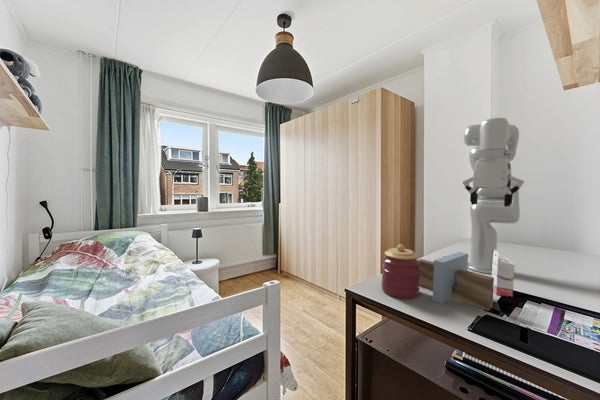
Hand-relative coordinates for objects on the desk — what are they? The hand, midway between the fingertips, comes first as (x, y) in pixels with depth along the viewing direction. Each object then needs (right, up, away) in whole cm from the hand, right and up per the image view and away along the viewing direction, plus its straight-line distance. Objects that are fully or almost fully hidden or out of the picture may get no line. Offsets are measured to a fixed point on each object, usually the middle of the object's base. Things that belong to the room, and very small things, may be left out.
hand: (489, 205), depth 86 cm
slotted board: (-13, -32, +2) cm, 35 cm away
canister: (-29, -32, +5) cm, 44 cm away
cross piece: (-13, -32, +2) cm, 35 cm away
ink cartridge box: (+8, -32, +5) cm, 34 cm away
